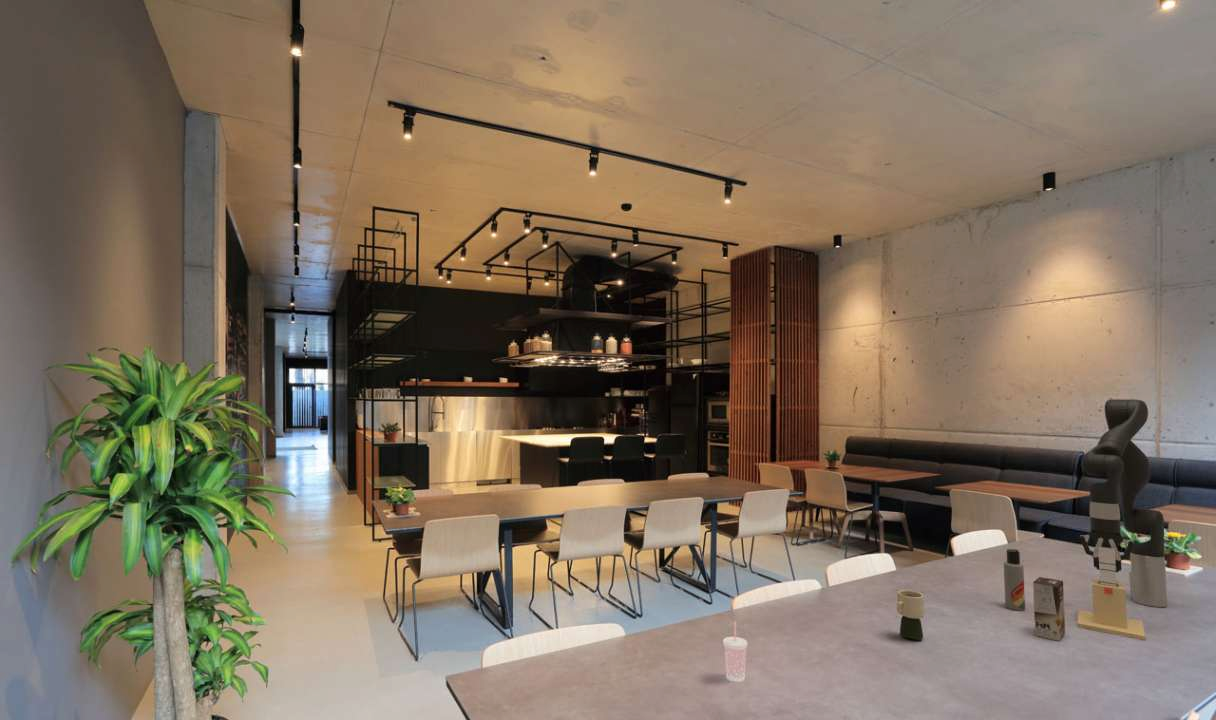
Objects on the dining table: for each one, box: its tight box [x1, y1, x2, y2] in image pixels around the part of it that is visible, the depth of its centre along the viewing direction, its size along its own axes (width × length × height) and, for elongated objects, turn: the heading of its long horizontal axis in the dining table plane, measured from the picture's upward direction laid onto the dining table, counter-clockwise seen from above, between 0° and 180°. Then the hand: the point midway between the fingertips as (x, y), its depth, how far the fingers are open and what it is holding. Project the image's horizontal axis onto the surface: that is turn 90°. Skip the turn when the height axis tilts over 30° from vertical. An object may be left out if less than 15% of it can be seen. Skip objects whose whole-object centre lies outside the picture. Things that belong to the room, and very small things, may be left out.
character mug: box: [896, 589, 925, 640], centre depth 179 cm, size 11×7×13 cm, turn 114°
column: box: [1098, 547, 1118, 587], centre depth 191 cm, size 4×4×20 cm
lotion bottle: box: [1003, 548, 1026, 612], centre depth 207 cm, size 6×6×20 cm
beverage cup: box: [722, 620, 748, 683], centre depth 152 cm, size 6×6×14 cm
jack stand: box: [1077, 578, 1146, 641], centre depth 190 cm, size 16×16×13 cm
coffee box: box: [1032, 576, 1066, 642], centre depth 183 cm, size 9×6×16 cm
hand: (1107, 570), depth 191 cm, fingers closed on column, 4 cm apart
